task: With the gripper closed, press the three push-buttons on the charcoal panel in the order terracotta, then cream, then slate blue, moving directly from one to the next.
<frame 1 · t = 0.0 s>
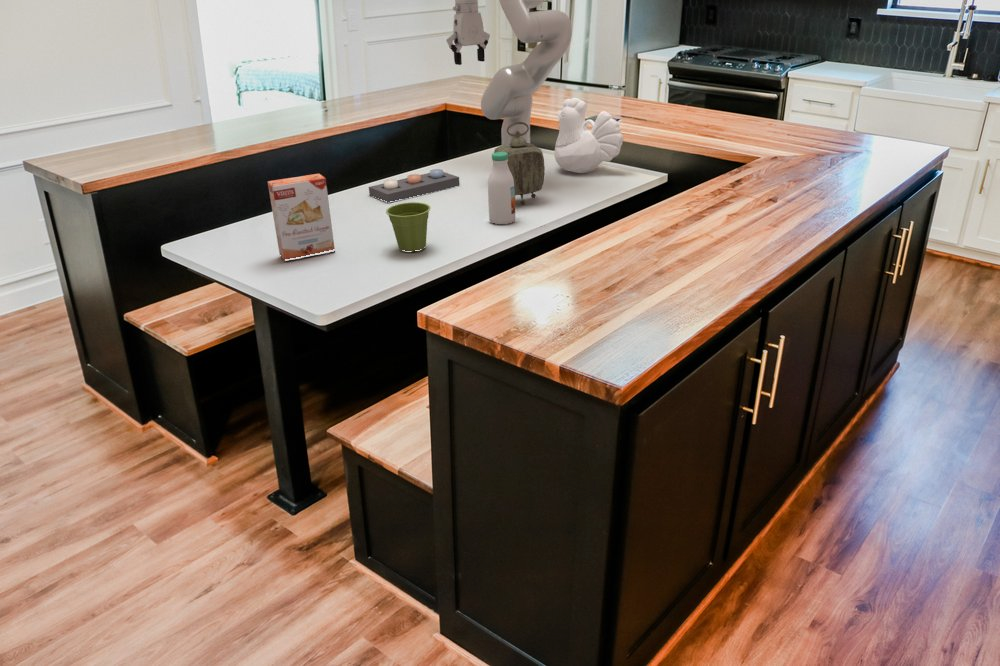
hand: (469, 62, 270), 37 cm above the table, tool pointing down, fingers open, 9 cm apart
milk bottle: (502, 221, 232), on the table
plant pot: (412, 249, 214), on the table
slate blue button: (436, 175, 267), point 4 cm above the table, slide at 0.0 cm
cream button: (391, 185, 258), point 4 cm above the table, slide at 0.0 cm
decorative rooster: (586, 173, 276), on the table
tabletop clock: (520, 203, 247), on the table
button panel: (415, 190, 264), on the table
cracker box: (308, 255, 213), on the table
terracotta button: (414, 180, 262), point 4 cm above the table, slide at 0.0 cm
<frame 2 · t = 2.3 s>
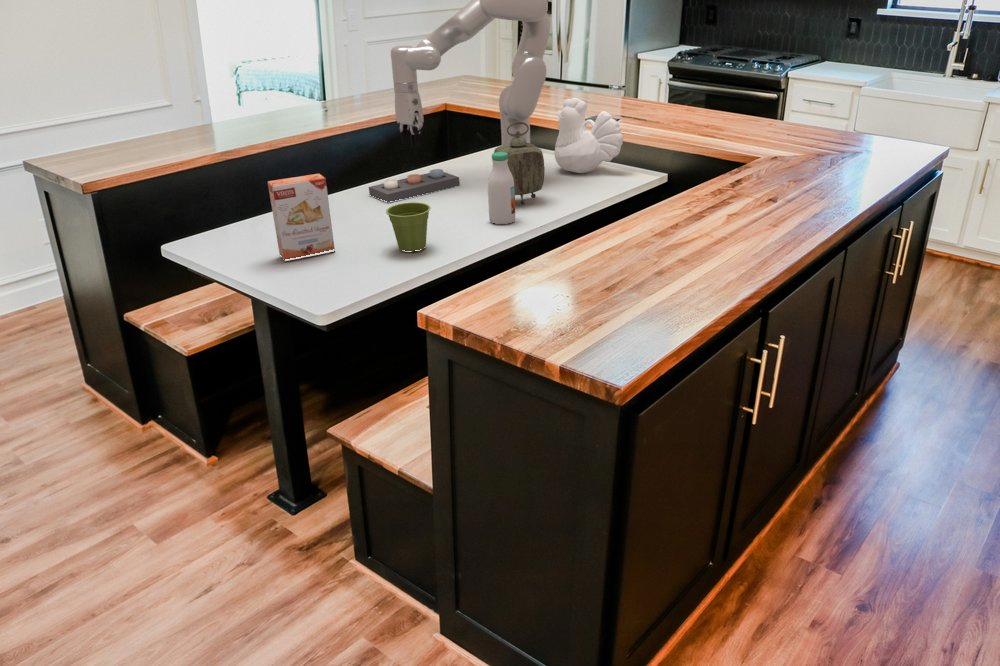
hand: (411, 144, 257), 15 cm above the table, tool pointing down, fingers open, 4 cm apart
nothing on the table moved.
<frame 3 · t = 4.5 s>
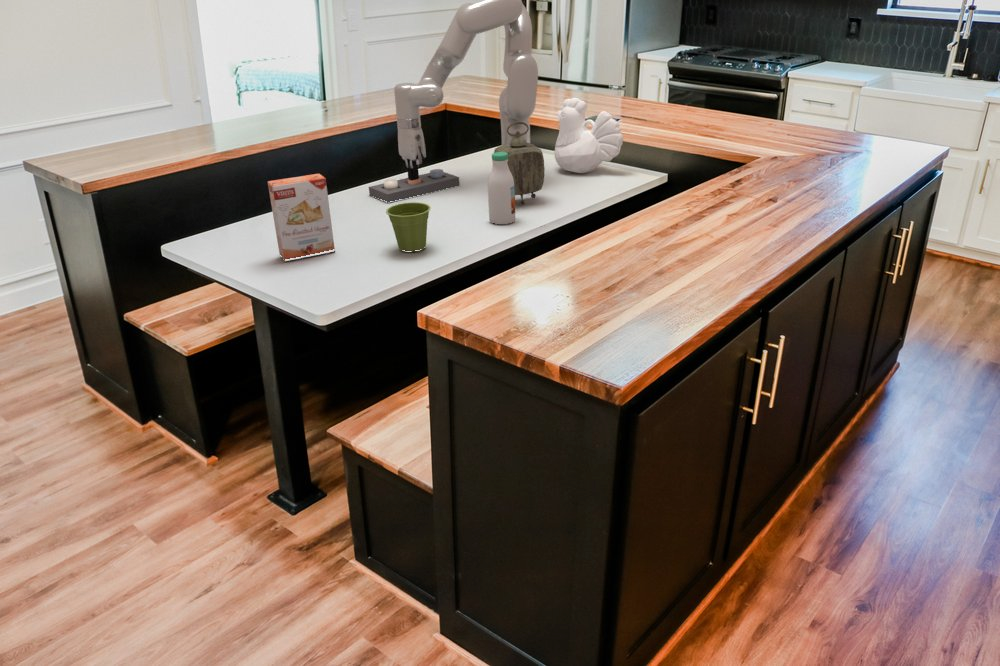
hand: (413, 179, 262), 4 cm above the table, tool pointing down, fingers closed
terracotta button: (414, 183, 263), point 2 cm above the table, slide at 1.1 cm, touching gripper
everything else where it was.
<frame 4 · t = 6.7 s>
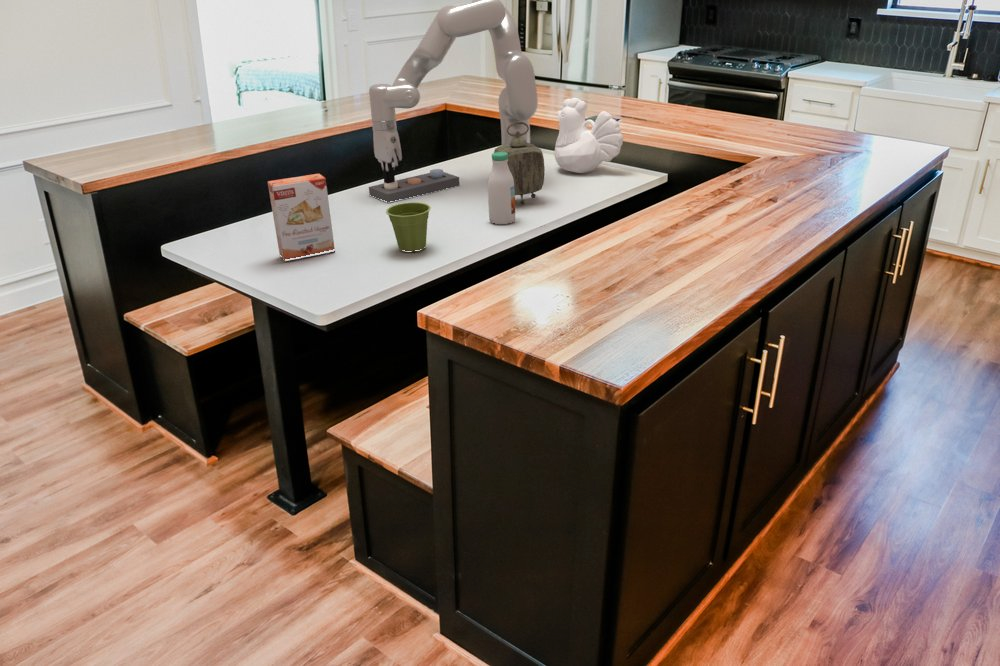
hand: (389, 182, 257), 5 cm above the table, tool pointing down, fingers closed
cream button: (391, 186, 258), point 3 cm above the table, slide at 0.3 cm, touching gripper
terracotta button: (414, 184, 263), point 2 cm above the table, slide at 1.3 cm
everything else where it was.
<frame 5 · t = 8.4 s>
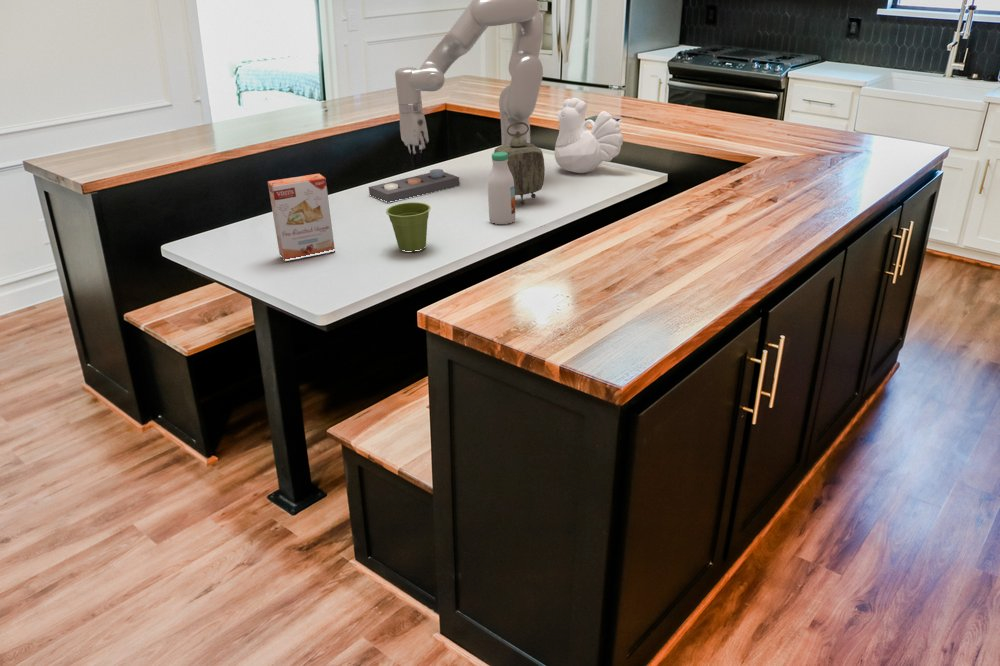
hand: (416, 164, 261), 9 cm above the table, tool pointing down, fingers closed
cream button: (391, 189, 258), point 2 cm above the table, slide at 1.3 cm
everything else where it was.
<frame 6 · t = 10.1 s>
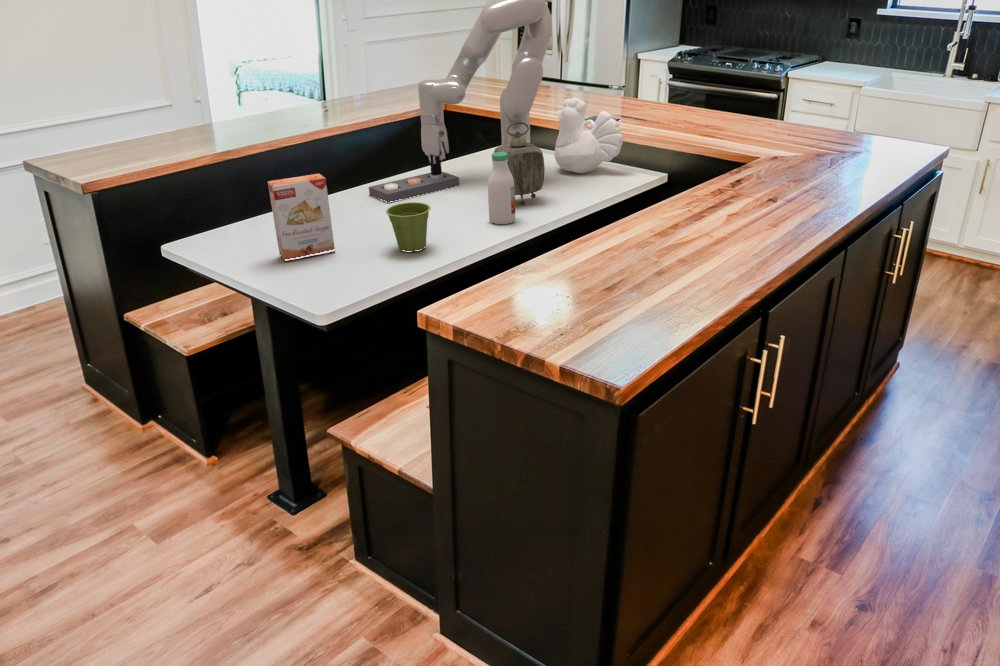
hand: (436, 174, 267), 4 cm above the table, tool pointing down, fingers closed
slate blue button: (437, 178, 268), point 2 cm above the table, slide at 1.3 cm, touching gripper
everything else where it was.
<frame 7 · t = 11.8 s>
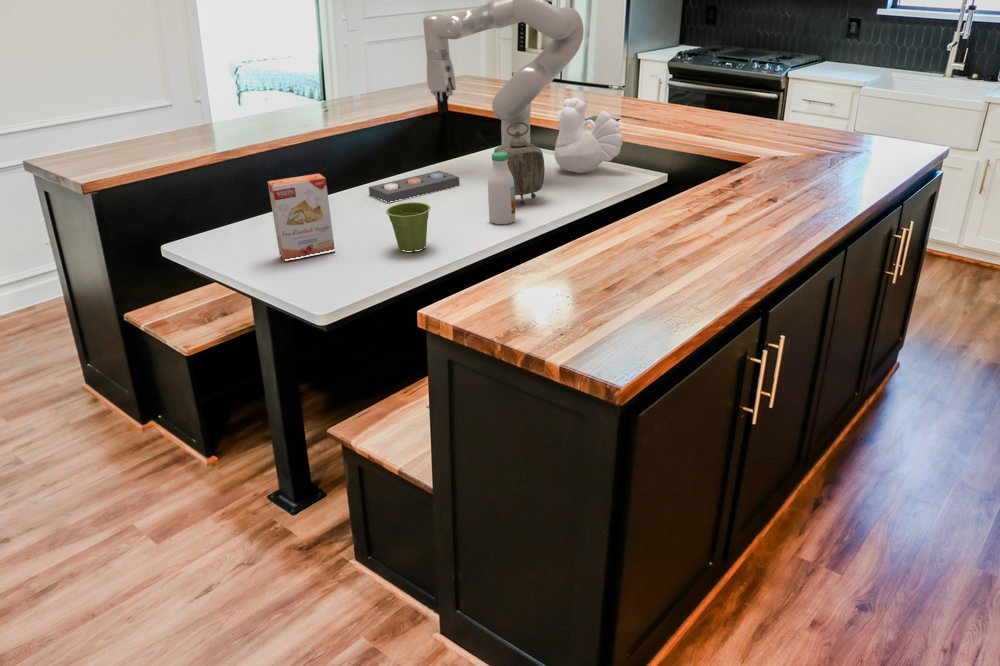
hand: (443, 112, 266), 23 cm above the table, tool pointing down, fingers closed
slate blue button: (437, 178, 268), point 2 cm above the table, slide at 1.3 cm
everything else where it was.
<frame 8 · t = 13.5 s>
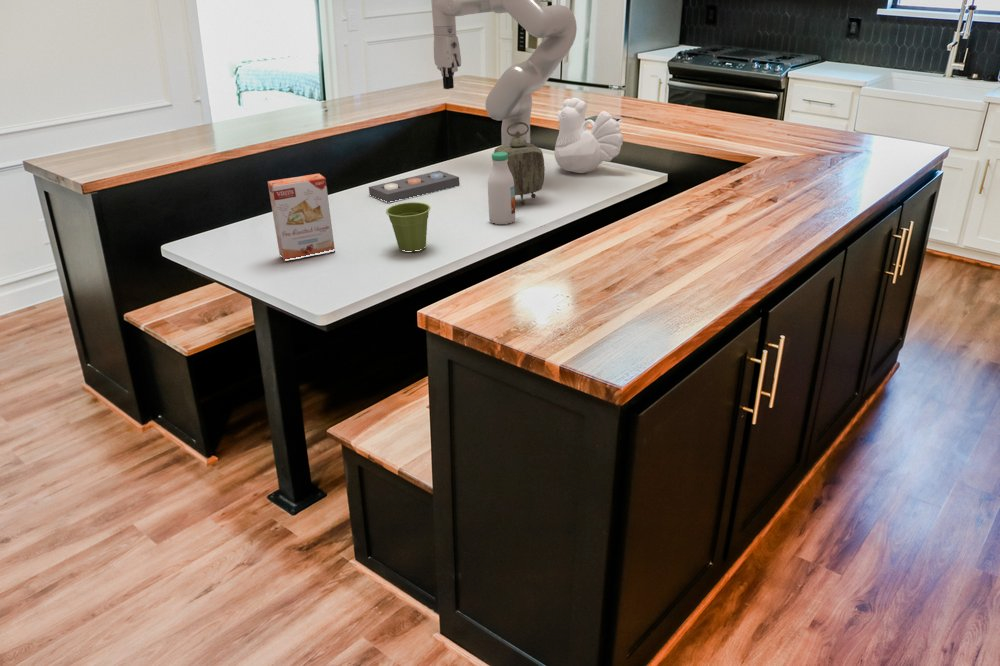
hand: (448, 88, 271), 29 cm above the table, tool pointing down, fingers closed
nothing on the table moved.
at the end: terracotta button slide at 1.3 cm; cream button slide at 1.3 cm; slate blue button slide at 1.3 cm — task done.
